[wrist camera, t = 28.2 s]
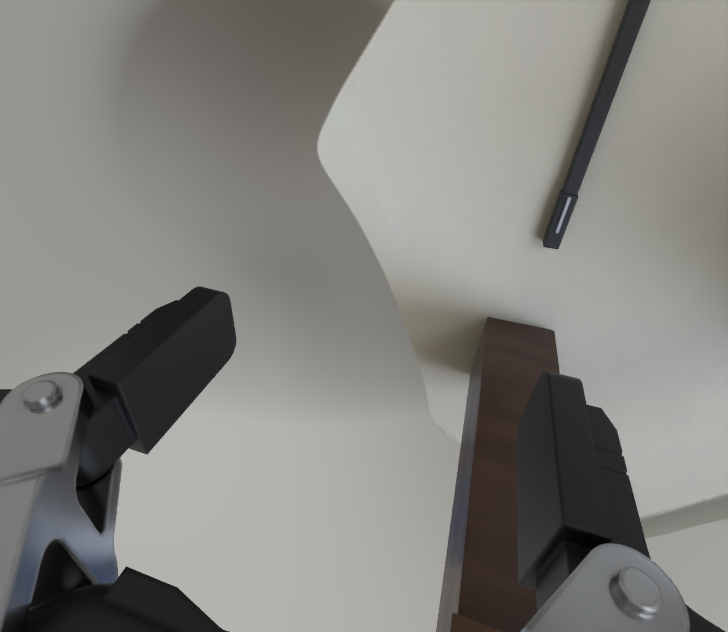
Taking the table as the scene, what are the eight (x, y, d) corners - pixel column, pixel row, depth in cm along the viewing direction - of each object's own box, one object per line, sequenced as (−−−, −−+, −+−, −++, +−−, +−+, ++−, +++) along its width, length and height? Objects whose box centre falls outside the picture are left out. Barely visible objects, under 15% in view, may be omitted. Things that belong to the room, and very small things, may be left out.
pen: (557, 243, 38) (558, 250, 36) (542, 241, 38) (543, 248, 37) (668, -53, 25) (675, -58, 24) (645, -54, 26) (652, -58, 24)
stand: (528, 408, 50) (539, 777, 25) (459, 390, 51) (408, 720, 27) (571, 309, 41) (655, 731, 16) (487, 292, 42) (448, 649, 18)
